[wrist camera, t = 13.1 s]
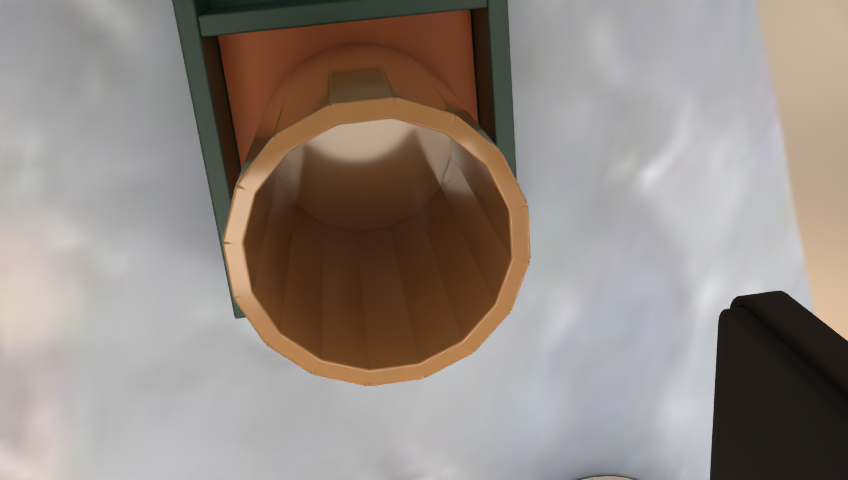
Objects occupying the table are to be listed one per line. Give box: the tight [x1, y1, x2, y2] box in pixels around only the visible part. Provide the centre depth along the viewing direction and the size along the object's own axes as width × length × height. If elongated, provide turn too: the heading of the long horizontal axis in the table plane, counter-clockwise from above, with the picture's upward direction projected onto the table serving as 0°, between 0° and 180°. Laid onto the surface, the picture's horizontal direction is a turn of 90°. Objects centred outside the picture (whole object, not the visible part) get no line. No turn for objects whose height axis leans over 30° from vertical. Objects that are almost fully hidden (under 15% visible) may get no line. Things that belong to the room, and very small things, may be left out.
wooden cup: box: [222, 43, 530, 386], centre depth 22 cm, size 7×7×10 cm
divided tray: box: [172, 0, 517, 318], centre depth 24 cm, size 9×18×4 cm, turn 4°
